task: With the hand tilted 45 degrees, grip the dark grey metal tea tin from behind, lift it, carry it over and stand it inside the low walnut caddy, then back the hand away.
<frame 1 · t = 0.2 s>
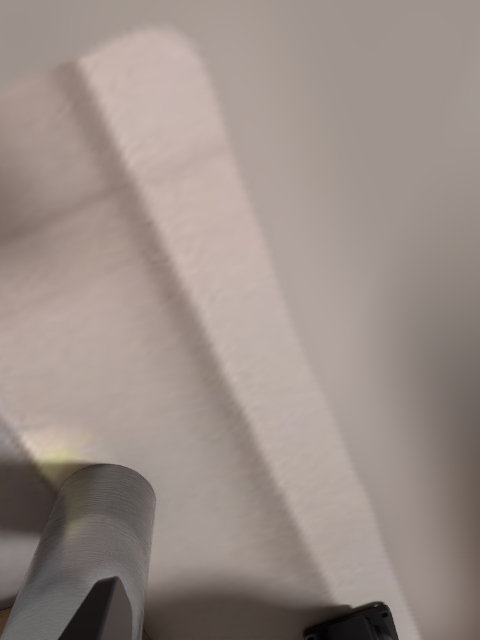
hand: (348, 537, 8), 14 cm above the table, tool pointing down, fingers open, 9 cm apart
tea tin: (107, 503, 25), on the table
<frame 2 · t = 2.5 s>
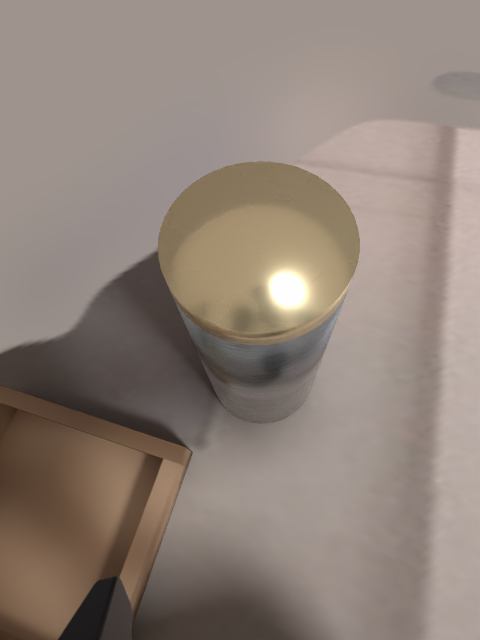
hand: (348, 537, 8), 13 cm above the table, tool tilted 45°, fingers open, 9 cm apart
walnut caddy: (56, 524, 21), on the table
tea tin: (261, 372, 24), on the table
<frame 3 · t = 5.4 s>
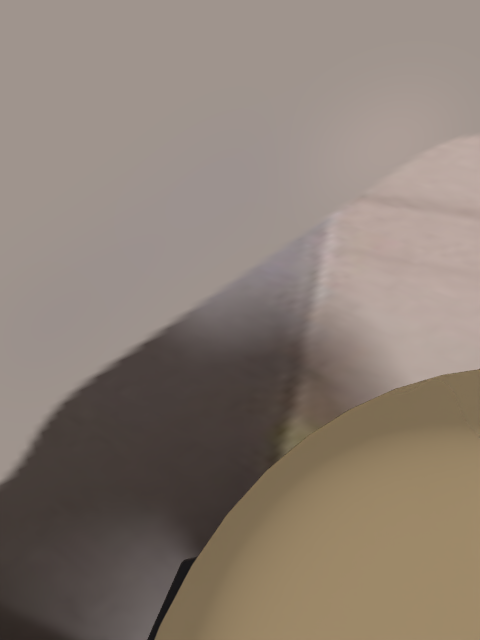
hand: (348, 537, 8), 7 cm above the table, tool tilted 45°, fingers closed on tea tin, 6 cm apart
tea tin: (325, 573, 14), on the table, touching gripper
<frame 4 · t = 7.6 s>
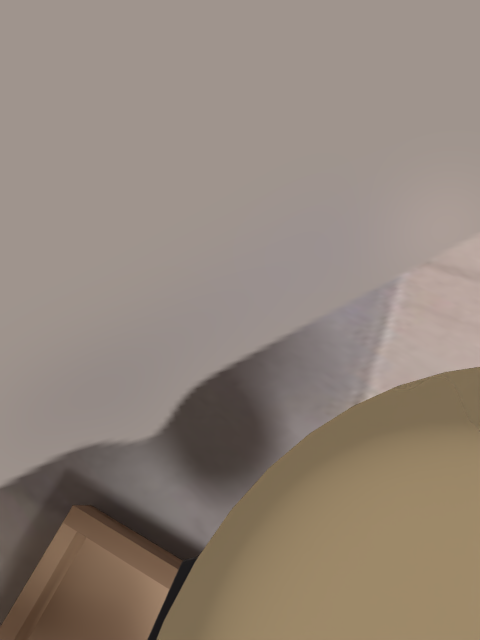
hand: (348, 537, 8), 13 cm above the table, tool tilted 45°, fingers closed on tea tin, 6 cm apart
tea tin: (326, 572, 14), point 7 cm above the table, touching gripper
when the fingers open (8 cm above the table, at t = 10.1 s): tea tin stays where it is, resting on walnut caddy.
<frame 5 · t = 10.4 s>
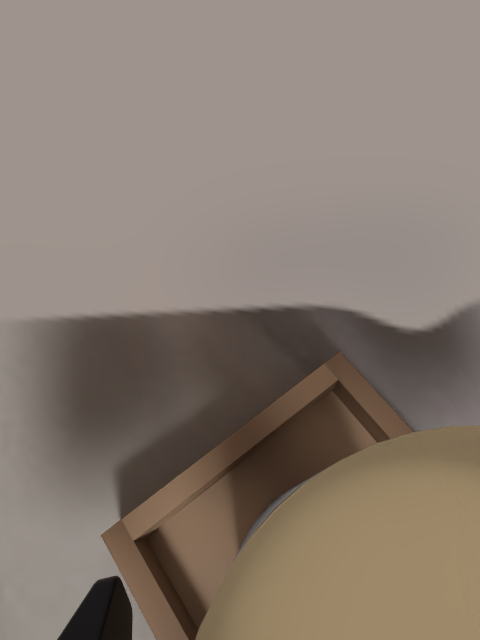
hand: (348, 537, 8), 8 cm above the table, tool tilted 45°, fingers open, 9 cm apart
walnut caddy: (319, 565, 15), on the table
tea tin: (322, 571, 15), point 1 cm above the table, touching walnut caddy
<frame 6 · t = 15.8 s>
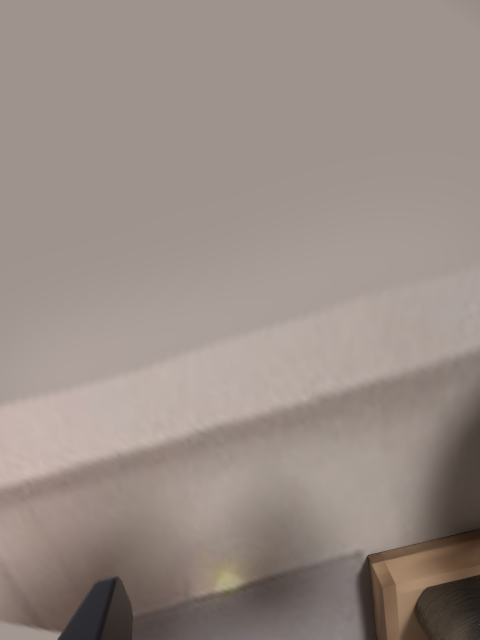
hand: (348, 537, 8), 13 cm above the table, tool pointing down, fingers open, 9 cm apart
walnut caddy: (449, 594, 29), on the table
tea tin: (455, 601, 28), point 1 cm above the table, touching walnut caddy
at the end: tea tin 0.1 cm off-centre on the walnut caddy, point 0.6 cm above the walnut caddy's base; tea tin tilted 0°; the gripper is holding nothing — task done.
